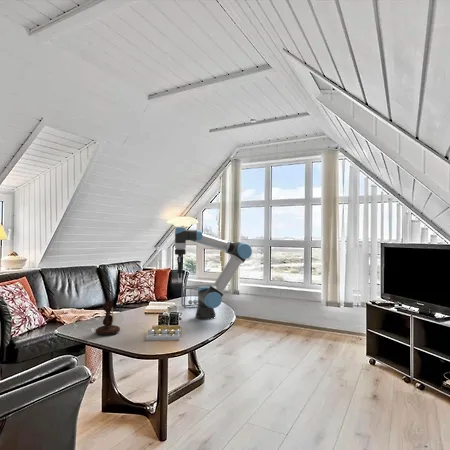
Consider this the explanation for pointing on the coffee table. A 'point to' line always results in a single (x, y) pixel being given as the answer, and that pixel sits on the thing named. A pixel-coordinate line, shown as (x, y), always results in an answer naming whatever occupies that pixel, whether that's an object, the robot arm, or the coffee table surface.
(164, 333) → the steel leaf
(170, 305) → the coffee table surface
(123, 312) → the coffee table surface
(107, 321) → the dark wooden figurine
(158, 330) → the brass leaf
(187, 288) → the newton's cradle
